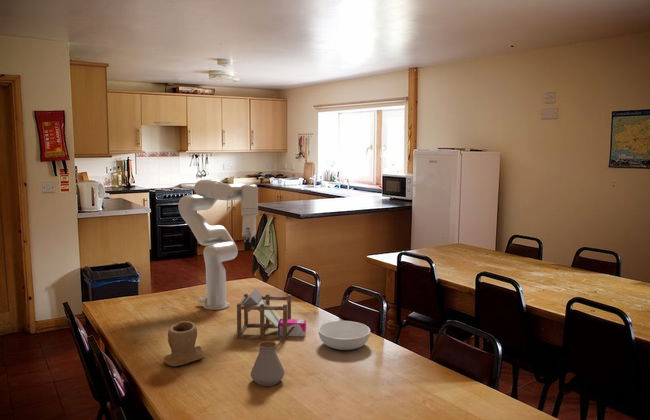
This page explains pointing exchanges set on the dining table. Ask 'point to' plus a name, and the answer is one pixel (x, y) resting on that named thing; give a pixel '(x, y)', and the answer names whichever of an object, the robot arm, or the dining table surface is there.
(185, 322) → the stone cup
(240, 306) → the stand
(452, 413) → the dining table surface
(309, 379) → the dining table surface
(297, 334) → the supplement box
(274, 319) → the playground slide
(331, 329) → the serving bowl
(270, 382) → the coffee pot
